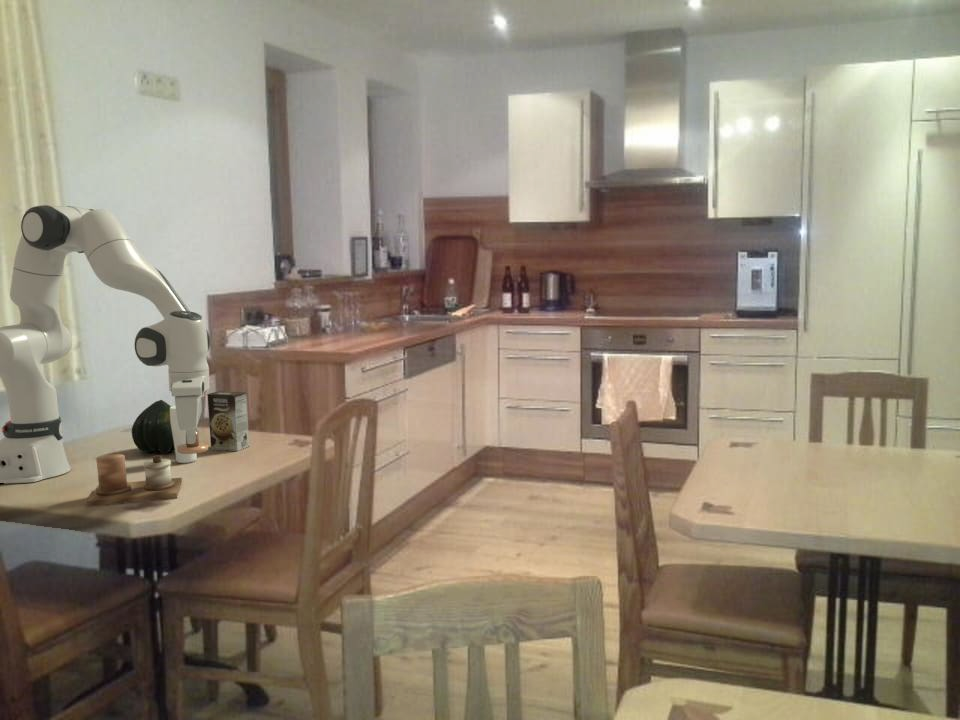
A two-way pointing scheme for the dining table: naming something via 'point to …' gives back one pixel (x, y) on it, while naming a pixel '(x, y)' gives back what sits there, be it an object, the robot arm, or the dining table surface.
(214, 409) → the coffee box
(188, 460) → the drinking glass
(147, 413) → the squash
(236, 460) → the dining table surface
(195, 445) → the jar lid
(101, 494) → the holder
